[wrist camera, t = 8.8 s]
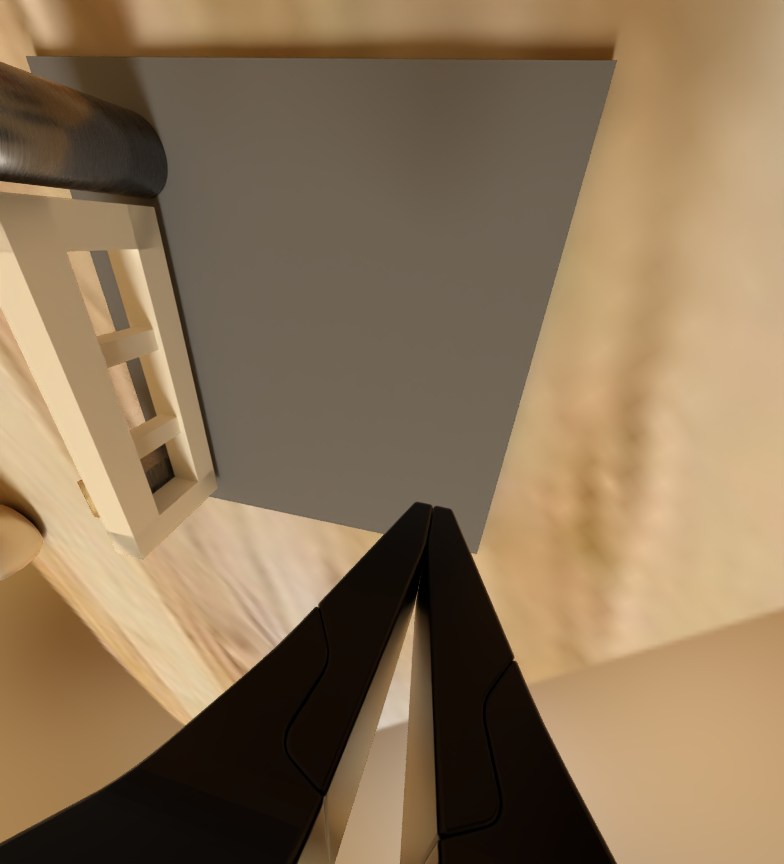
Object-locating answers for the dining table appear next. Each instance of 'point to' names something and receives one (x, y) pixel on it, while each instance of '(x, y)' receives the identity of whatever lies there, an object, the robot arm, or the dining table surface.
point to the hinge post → (75, 140)
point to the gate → (106, 358)
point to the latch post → (154, 469)
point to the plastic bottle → (16, 541)
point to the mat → (356, 262)
